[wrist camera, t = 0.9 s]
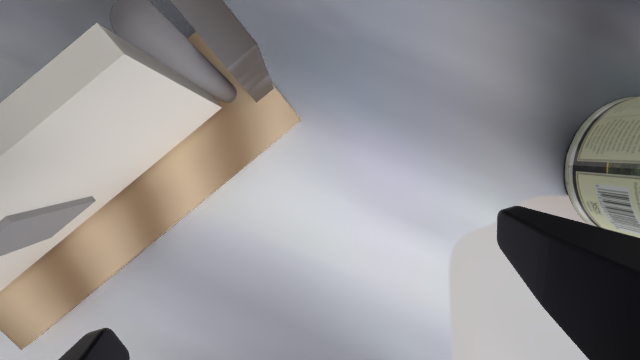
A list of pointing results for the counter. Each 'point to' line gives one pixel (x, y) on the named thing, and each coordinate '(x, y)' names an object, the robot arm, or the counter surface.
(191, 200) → the door base
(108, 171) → the door
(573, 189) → the glass jar
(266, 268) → the counter surface
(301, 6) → the counter surface
